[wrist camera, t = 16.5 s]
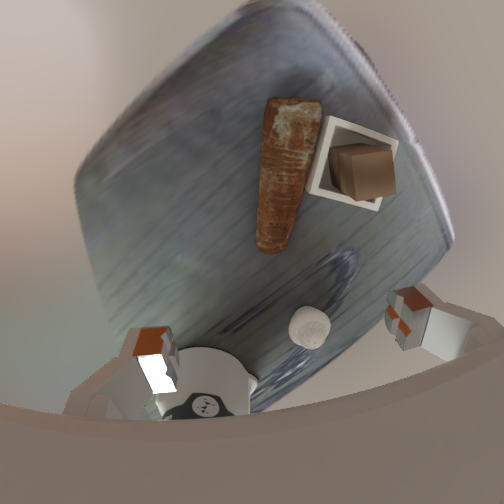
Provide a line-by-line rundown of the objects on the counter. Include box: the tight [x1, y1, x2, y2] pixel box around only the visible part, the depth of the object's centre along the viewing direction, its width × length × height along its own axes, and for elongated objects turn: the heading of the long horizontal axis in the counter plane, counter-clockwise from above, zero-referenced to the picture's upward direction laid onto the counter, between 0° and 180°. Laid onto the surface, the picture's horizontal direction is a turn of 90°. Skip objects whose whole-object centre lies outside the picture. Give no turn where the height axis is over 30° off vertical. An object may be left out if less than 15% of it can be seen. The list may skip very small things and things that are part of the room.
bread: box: [255, 97, 323, 254], centre depth 33 cm, size 6×19×6 cm, turn 170°
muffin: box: [289, 306, 331, 349], centre depth 41 cm, size 6×6×7 cm
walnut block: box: [327, 143, 396, 202], centre depth 30 cm, size 5×5×8 cm
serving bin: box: [304, 116, 399, 212], centre depth 33 cm, size 9×9×5 cm
